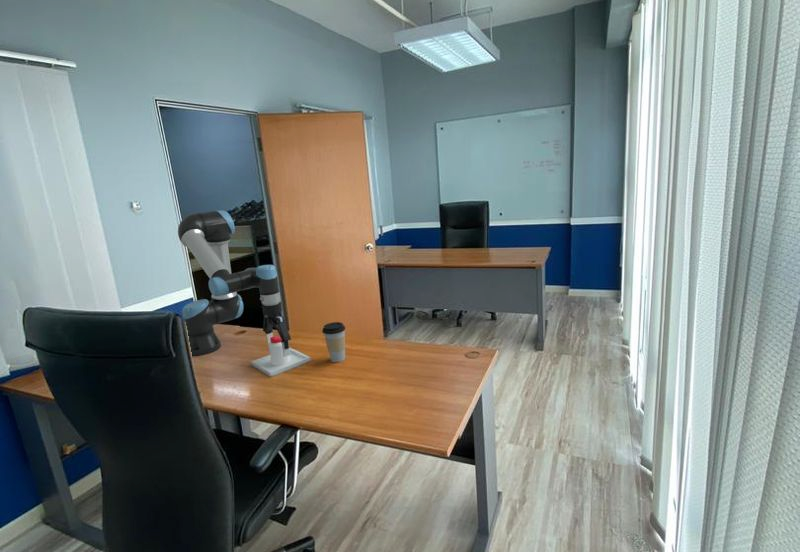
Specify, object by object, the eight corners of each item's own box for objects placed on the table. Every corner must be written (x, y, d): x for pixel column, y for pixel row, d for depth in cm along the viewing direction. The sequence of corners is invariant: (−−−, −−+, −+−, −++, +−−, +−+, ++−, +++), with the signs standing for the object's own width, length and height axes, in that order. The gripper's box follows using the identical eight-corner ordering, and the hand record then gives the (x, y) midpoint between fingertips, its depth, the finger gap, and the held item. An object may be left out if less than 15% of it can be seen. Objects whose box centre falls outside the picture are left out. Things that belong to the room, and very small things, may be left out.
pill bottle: (287, 365, 174) (283, 339, 172) (268, 366, 174) (264, 341, 172) (292, 357, 182) (288, 333, 179) (274, 358, 182) (270, 334, 180)
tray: (252, 365, 179) (251, 361, 179) (290, 351, 191) (289, 347, 190) (271, 377, 166) (270, 372, 165) (311, 361, 177) (310, 357, 177)
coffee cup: (351, 354, 181) (347, 320, 177) (346, 363, 171) (341, 328, 168) (329, 355, 182) (325, 322, 178) (323, 364, 173) (318, 330, 169)
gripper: (249, 300, 179) (258, 347, 184) (276, 310, 161) (285, 362, 166) (266, 296, 184) (274, 342, 189) (294, 305, 166) (302, 356, 170)
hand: (279, 351), depth 177 cm, fingers open, 13 cm apart
